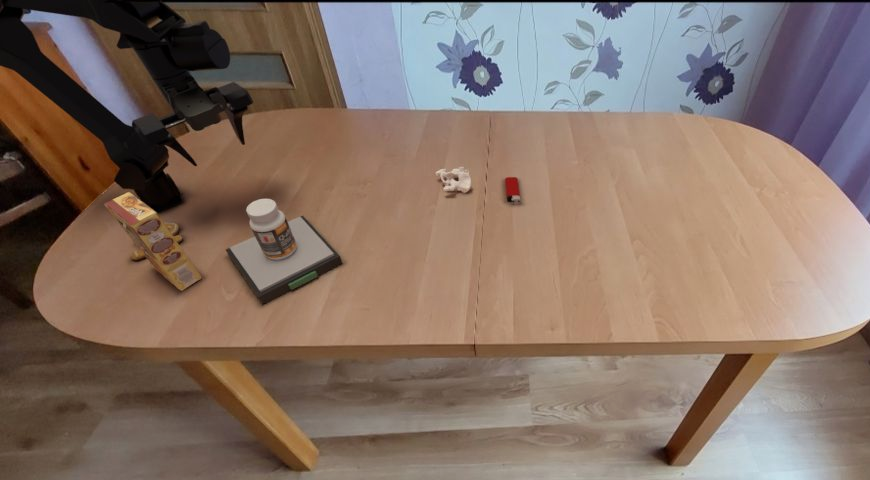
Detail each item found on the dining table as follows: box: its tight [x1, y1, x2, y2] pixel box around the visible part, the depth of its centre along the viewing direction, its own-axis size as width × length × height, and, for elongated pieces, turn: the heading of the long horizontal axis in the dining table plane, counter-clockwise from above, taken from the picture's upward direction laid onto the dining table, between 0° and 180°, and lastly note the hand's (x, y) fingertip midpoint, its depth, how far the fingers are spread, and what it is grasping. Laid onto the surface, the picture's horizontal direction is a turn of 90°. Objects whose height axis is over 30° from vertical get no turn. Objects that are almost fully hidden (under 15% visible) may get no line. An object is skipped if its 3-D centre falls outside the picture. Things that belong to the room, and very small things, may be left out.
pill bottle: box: [245, 198, 297, 260], centre depth 81 cm, size 6×6×10 cm
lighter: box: [504, 176, 521, 205], centre depth 101 cm, size 3×1×8 cm
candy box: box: [104, 191, 202, 292], centre depth 78 cm, size 9×4×15 cm, turn 54°
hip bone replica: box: [435, 166, 472, 194], centre depth 101 cm, size 8×4×7 cm
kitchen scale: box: [225, 215, 343, 305], centre depth 85 cm, size 15×16×3 cm
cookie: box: [129, 222, 183, 261], centre depth 88 cm, size 8×1×10 cm
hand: (220, 154), depth 88 cm, fingers open, 9 cm apart
